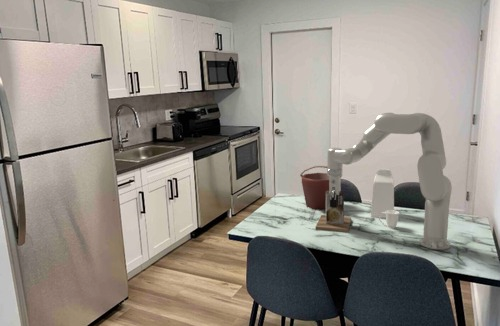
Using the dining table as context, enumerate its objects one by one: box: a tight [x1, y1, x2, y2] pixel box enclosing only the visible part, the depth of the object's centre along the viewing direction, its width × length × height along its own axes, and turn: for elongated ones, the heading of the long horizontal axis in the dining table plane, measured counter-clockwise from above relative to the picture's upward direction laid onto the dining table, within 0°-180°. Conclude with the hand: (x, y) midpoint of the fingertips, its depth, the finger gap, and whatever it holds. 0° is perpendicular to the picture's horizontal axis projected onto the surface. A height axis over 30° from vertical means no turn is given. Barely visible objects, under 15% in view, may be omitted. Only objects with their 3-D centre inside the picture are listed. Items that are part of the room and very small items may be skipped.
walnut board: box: [315, 214, 352, 233], centre depth 201 cm, size 20×16×2 cm
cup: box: [378, 209, 400, 230], centre depth 195 cm, size 7×10×8 cm
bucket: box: [300, 165, 343, 211], centre depth 233 cm, size 24×22×25 cm
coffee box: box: [325, 190, 345, 224], centre depth 199 cm, size 9×6×16 cm
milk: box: [370, 168, 395, 219], centre depth 213 cm, size 12×12×26 cm
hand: (334, 204), depth 199 cm, fingers open, 9 cm apart
